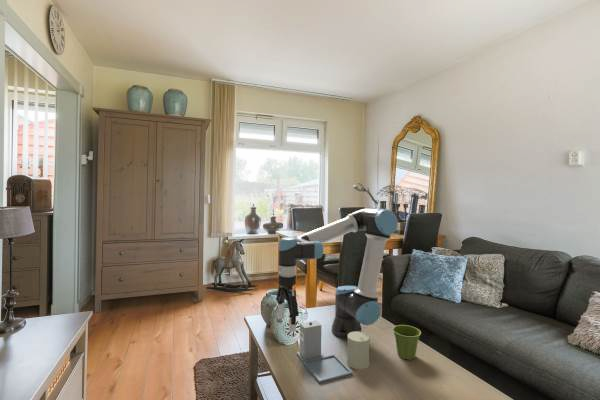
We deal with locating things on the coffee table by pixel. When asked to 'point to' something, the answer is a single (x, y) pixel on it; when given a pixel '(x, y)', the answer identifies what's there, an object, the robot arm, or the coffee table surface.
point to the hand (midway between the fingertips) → (286, 324)
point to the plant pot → (406, 340)
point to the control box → (310, 341)
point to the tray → (327, 368)
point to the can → (358, 350)
